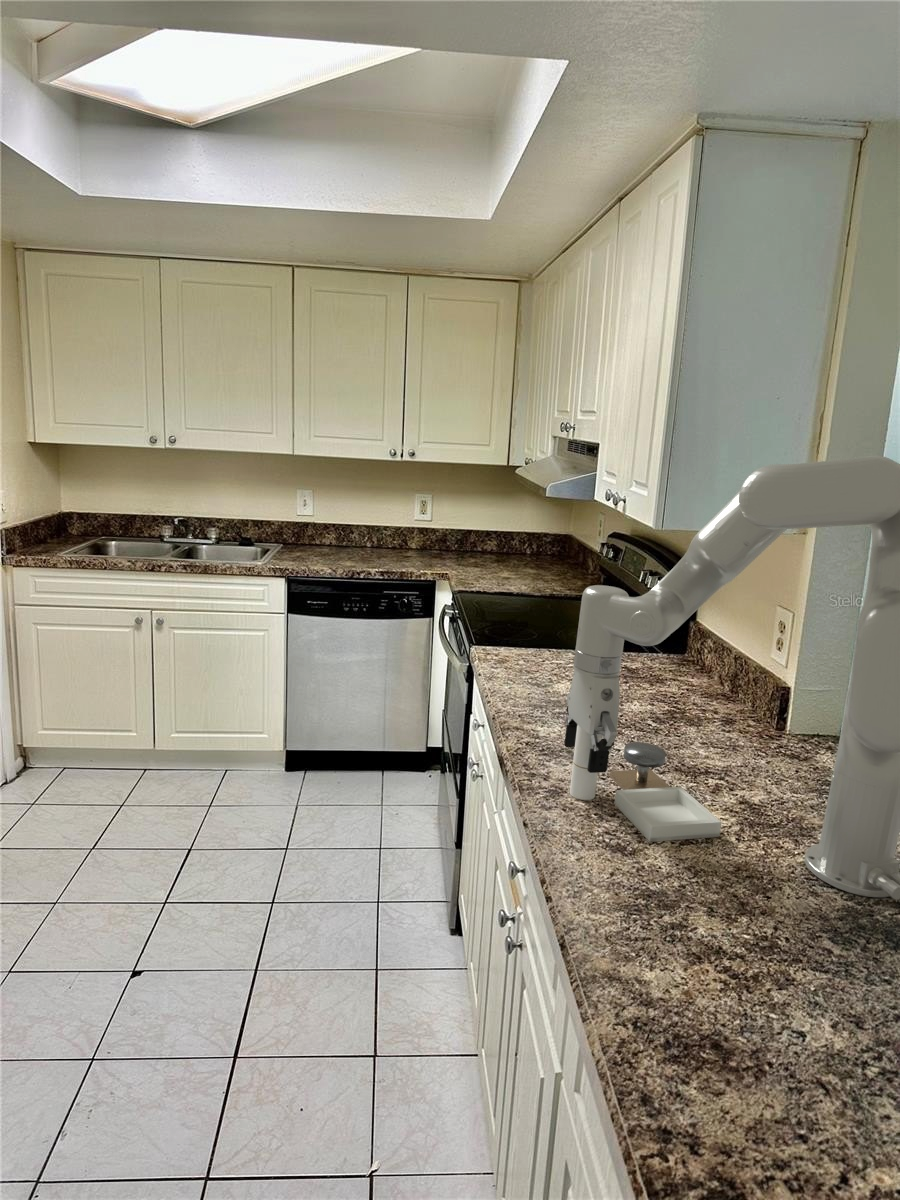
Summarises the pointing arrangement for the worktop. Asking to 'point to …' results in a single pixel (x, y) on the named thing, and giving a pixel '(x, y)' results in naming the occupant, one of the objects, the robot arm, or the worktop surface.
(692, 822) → the tray
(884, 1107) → the worktop surface
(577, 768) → the tube
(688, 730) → the worktop surface
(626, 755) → the knob on plate
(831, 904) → the worktop surface
